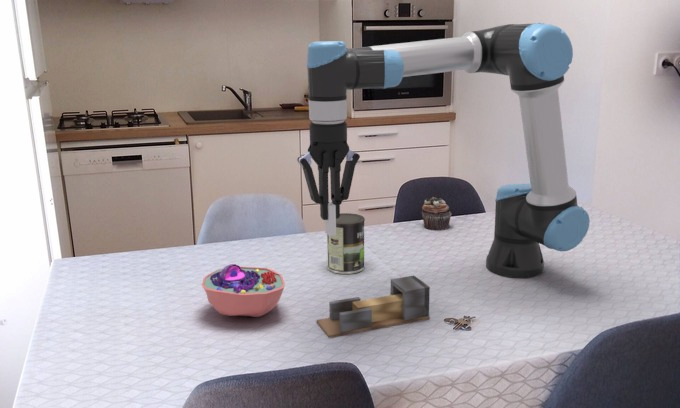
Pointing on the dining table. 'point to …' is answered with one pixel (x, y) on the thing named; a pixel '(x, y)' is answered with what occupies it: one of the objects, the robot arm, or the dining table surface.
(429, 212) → the cupcake
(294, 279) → the dining table surface
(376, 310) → the brass rectangular bar
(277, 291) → the cell model
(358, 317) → the cap board
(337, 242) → the coffee can
